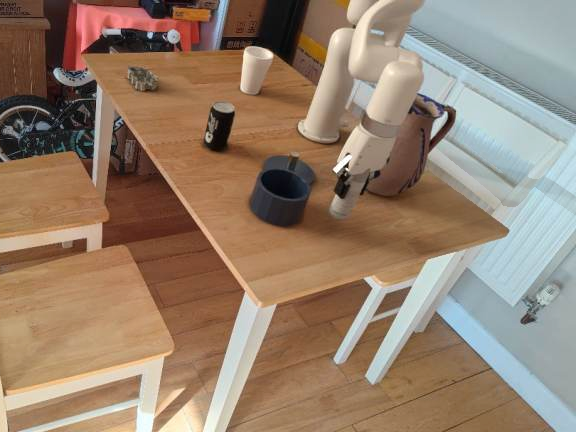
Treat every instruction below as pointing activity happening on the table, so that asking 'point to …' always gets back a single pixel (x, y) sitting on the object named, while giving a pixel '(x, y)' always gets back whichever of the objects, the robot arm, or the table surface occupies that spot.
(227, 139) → the beverage can
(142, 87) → the egg carton
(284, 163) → the lid
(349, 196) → the container
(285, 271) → the table surface
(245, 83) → the foam cup
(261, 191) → the tin
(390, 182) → the ceramic pitcher
